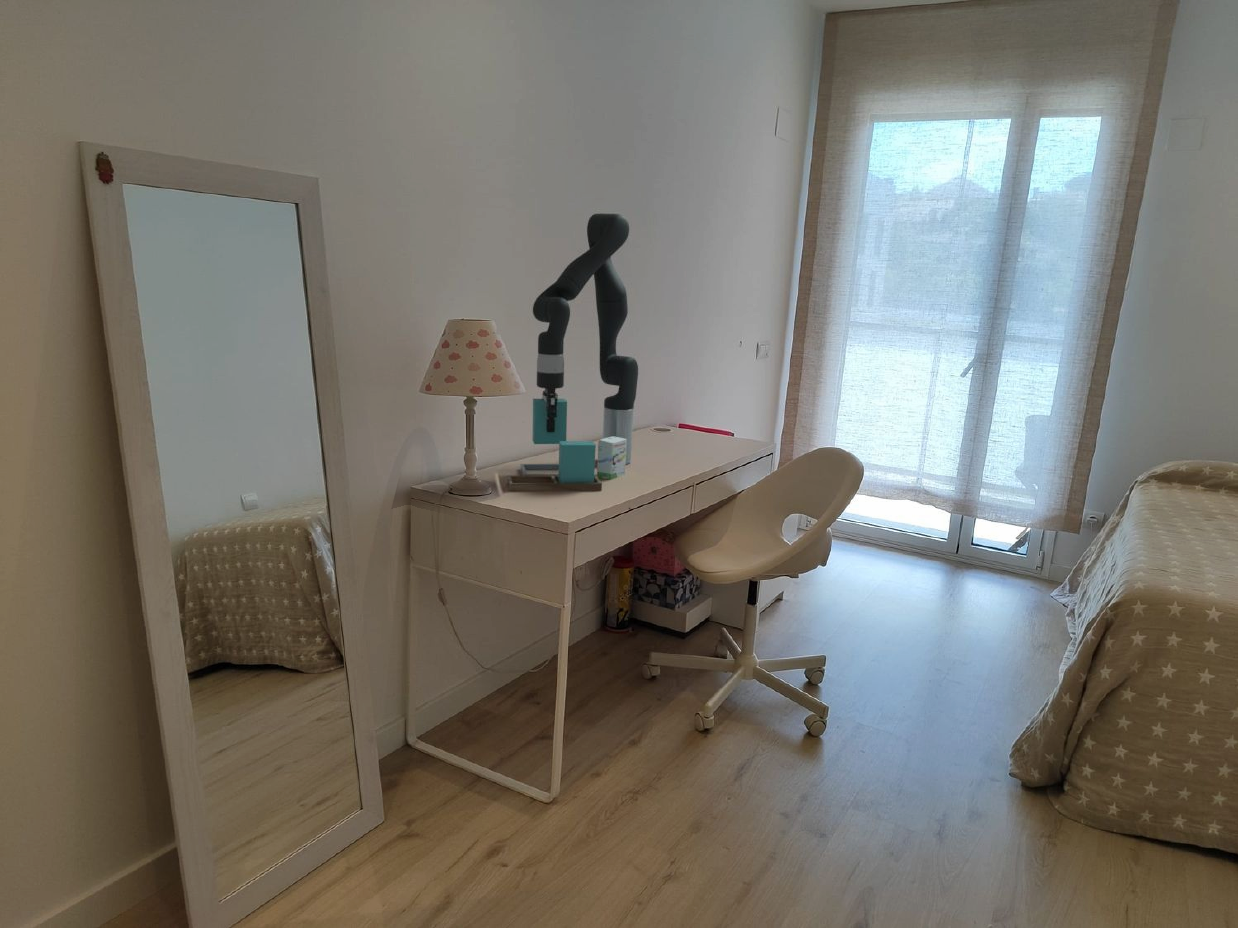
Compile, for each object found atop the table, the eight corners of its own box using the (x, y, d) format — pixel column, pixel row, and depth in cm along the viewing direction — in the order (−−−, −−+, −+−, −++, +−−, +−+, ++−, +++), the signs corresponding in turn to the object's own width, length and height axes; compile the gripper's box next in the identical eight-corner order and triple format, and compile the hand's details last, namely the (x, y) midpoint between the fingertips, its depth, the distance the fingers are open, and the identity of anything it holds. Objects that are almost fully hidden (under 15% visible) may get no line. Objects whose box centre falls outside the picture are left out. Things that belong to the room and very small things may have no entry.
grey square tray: (520, 472, 233) (520, 464, 232) (570, 472, 236) (570, 464, 235) (524, 483, 221) (524, 474, 220) (576, 482, 224) (576, 474, 223)
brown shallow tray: (507, 486, 217) (507, 475, 216) (595, 485, 222) (596, 475, 221) (509, 494, 209) (509, 483, 208) (601, 494, 214) (601, 483, 213)
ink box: (610, 483, 226) (612, 442, 223) (595, 480, 228) (597, 440, 225) (625, 477, 233) (627, 438, 230) (611, 475, 235) (613, 435, 233)
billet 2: (558, 484, 218) (559, 441, 215) (590, 484, 219) (592, 441, 217) (560, 489, 213) (561, 445, 210) (593, 488, 215) (595, 445, 212)
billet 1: (532, 440, 228) (532, 398, 225) (563, 440, 230) (564, 398, 227) (534, 444, 223) (534, 401, 220) (566, 443, 225) (567, 401, 222)
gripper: (567, 373, 216) (566, 435, 220) (560, 367, 229) (559, 425, 233) (539, 373, 214) (538, 435, 218) (534, 366, 228) (533, 425, 232)
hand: (549, 429), depth 226 cm, fingers closed on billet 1, 5 cm apart
